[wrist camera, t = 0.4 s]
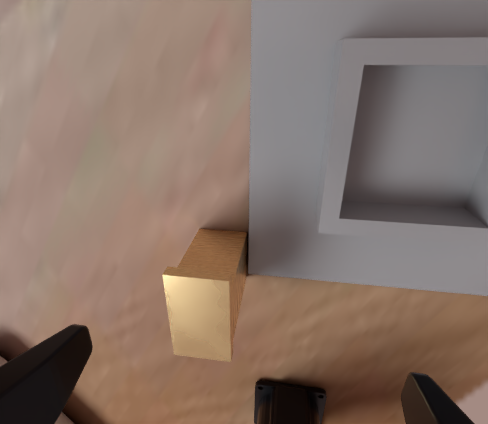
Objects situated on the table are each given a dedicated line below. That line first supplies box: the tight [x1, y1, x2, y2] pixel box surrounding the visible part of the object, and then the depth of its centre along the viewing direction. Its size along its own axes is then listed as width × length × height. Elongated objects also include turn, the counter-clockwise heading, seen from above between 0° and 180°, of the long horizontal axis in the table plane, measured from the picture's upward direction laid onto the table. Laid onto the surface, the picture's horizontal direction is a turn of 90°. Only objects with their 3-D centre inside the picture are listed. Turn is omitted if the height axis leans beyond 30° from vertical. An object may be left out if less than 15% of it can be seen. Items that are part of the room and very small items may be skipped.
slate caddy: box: [248, 0, 488, 296], centre depth 16 cm, size 20×18×3 cm
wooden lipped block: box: [163, 229, 247, 362], centre depth 19 cm, size 6×4×7 cm, turn 0°
